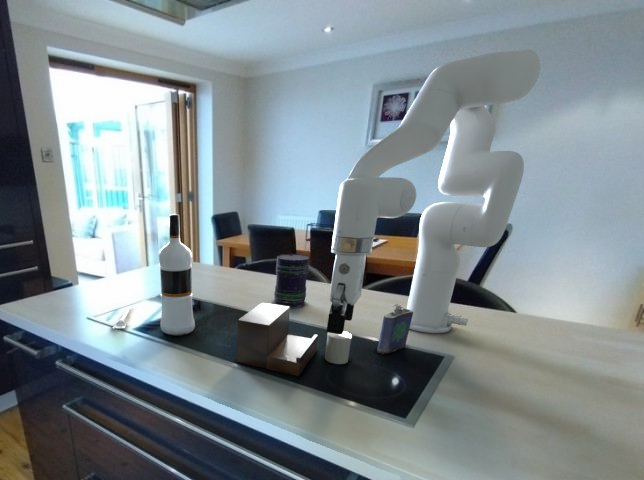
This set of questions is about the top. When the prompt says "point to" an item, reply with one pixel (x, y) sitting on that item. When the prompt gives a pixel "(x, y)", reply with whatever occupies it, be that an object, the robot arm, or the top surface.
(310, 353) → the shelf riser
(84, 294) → the top surface
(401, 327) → the flask
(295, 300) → the storage jar
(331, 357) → the white cylinder
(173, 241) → the vodka
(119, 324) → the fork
